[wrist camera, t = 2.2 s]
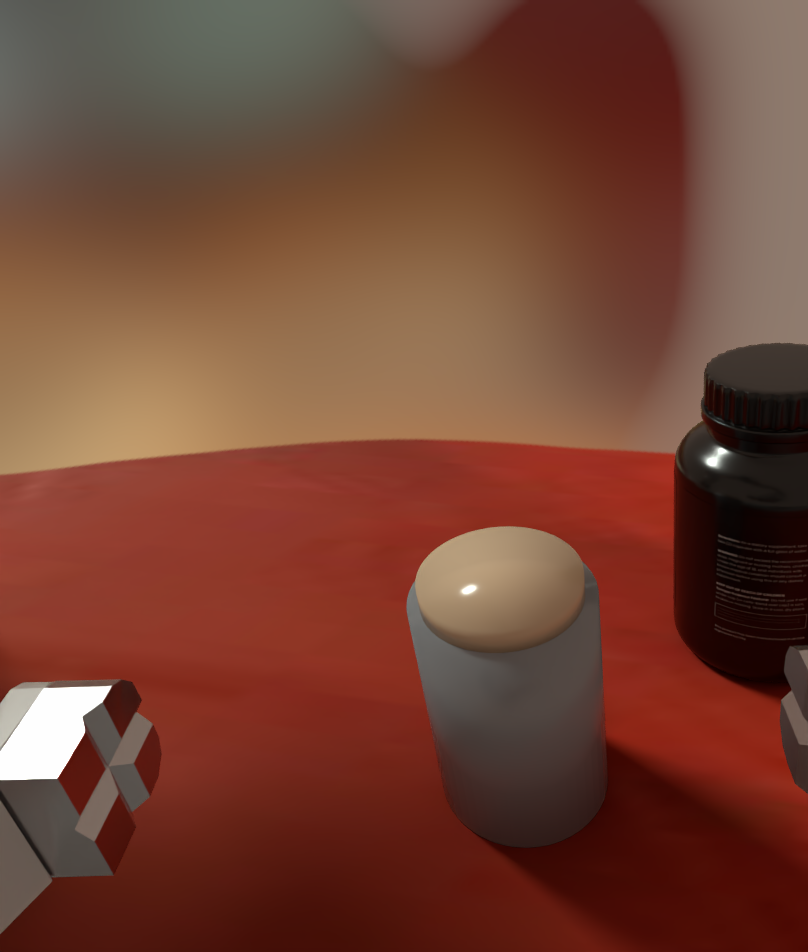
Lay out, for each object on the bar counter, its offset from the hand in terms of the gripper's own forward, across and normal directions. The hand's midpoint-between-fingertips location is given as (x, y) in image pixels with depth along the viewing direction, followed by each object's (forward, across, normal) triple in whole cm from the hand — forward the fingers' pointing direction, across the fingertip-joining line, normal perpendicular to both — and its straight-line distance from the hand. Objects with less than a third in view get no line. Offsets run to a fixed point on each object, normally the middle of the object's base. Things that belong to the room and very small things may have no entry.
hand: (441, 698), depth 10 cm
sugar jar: (+12, 0, +17) cm, 21 cm away
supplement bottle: (+19, -10, +17) cm, 27 cm away
